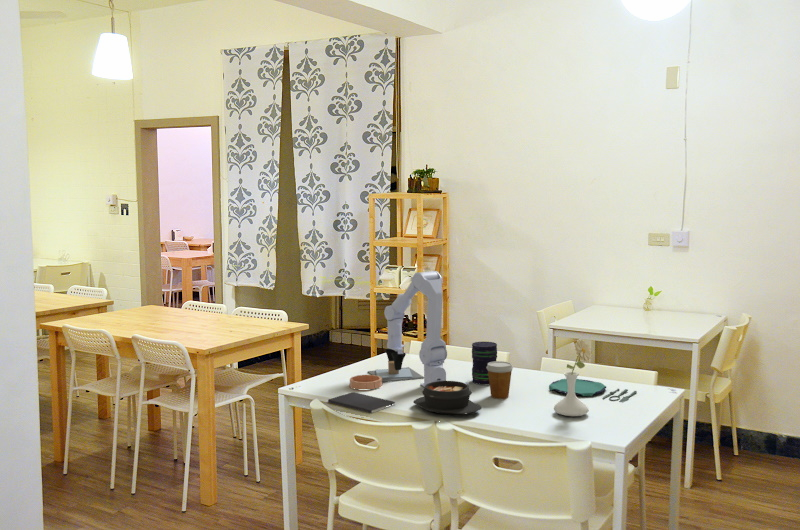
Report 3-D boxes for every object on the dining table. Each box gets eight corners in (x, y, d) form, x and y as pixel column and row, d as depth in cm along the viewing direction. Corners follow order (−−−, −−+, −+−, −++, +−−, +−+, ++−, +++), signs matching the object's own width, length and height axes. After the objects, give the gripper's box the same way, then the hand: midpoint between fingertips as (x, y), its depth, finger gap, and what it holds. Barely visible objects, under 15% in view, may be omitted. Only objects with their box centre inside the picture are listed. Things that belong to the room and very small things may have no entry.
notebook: (328, 403, 266) (371, 414, 252) (327, 399, 266) (371, 410, 252) (353, 396, 275) (396, 406, 261) (353, 391, 275) (396, 402, 261)
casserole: (401, 409, 256) (401, 385, 255) (435, 397, 270) (435, 375, 269) (459, 423, 239) (459, 398, 238) (492, 410, 253) (492, 386, 252)
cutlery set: (564, 381, 291) (564, 375, 291) (640, 394, 273) (640, 388, 272) (540, 392, 275) (540, 386, 275) (619, 407, 257) (619, 401, 257)
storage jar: (490, 377, 297) (490, 340, 296) (501, 383, 288) (501, 345, 286) (467, 379, 294) (467, 342, 292) (478, 386, 285) (477, 347, 283)
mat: (423, 378, 298) (423, 377, 297) (381, 382, 292) (380, 381, 292) (408, 368, 314) (408, 367, 314) (367, 372, 309) (367, 371, 309)
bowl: (385, 388, 283) (385, 380, 283) (355, 391, 279) (355, 383, 279) (376, 381, 294) (376, 373, 294) (346, 384, 290) (346, 376, 290)
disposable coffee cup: (497, 391, 276) (497, 359, 275) (518, 396, 270) (518, 363, 268) (481, 396, 270) (480, 364, 269) (502, 401, 263) (502, 368, 262)
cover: (412, 377, 296) (412, 365, 296) (377, 379, 295) (377, 366, 295) (409, 369, 310) (408, 357, 310) (375, 370, 309) (375, 358, 309)
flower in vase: (567, 421, 240) (567, 344, 237) (546, 411, 250) (547, 338, 248) (600, 415, 245) (600, 341, 243) (578, 406, 255) (579, 335, 253)
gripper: (410, 337, 296) (410, 371, 297) (398, 331, 310) (398, 363, 311) (393, 338, 294) (393, 372, 295) (382, 332, 307) (382, 364, 309)
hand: (395, 368), depth 303 cm, fingers open, 7 cm apart
